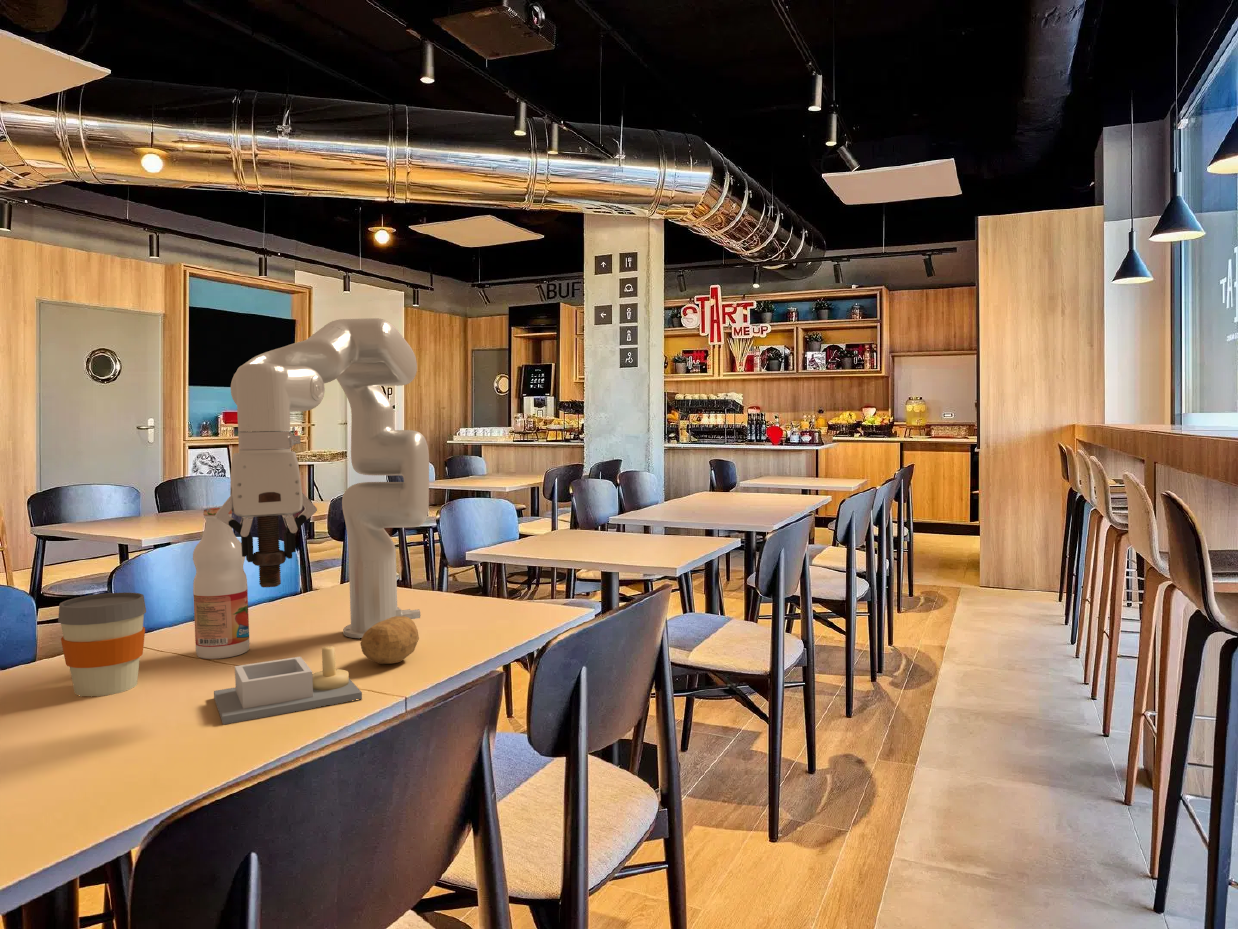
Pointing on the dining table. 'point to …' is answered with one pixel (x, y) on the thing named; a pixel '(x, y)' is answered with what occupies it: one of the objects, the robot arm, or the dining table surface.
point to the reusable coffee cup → (103, 641)
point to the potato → (390, 640)
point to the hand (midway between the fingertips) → (269, 558)
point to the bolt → (269, 545)
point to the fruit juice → (220, 592)
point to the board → (284, 688)
